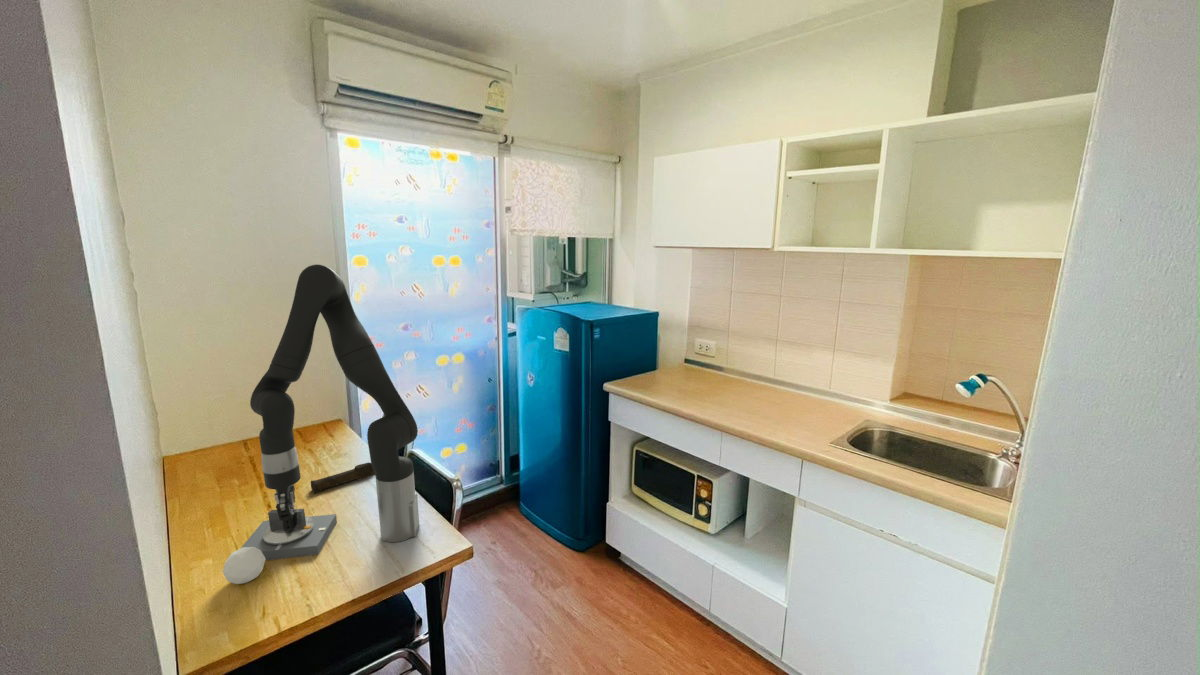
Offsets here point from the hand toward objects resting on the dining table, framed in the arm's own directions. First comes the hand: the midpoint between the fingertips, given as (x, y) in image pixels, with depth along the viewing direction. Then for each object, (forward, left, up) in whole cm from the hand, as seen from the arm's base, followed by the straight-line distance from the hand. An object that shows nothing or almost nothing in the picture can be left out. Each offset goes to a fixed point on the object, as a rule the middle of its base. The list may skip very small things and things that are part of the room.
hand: (289, 526), depth 122 cm
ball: (+4, +13, -4) cm, 15 cm away
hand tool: (-4, -31, -5) cm, 31 cm away
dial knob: (0, 0, -1) cm, 2 cm away
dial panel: (0, 0, -4) cm, 4 cm away
